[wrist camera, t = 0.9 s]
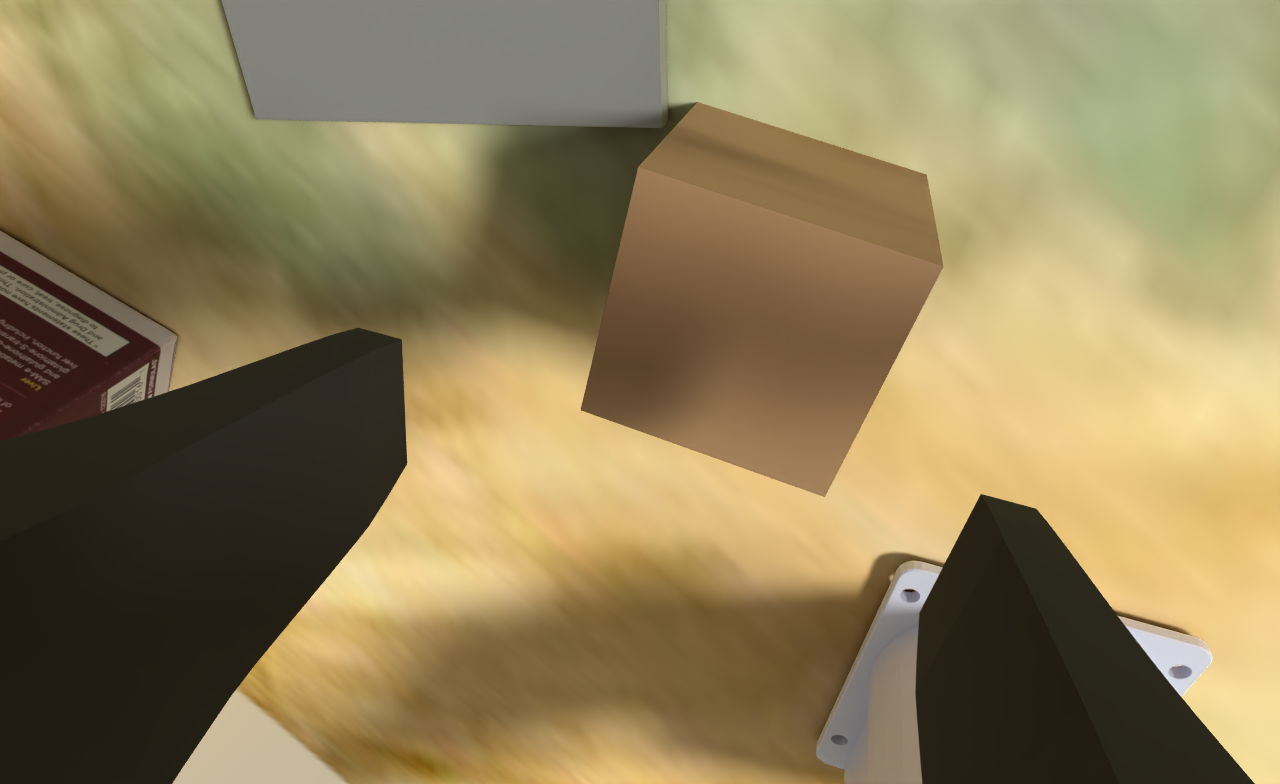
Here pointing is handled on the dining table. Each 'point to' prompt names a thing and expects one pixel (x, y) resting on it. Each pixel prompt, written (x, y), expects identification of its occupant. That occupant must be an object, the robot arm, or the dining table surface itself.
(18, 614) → the robot arm
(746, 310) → the walnut cube
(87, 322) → the supplement box
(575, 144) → the dining table surface
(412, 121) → the slate coaster
